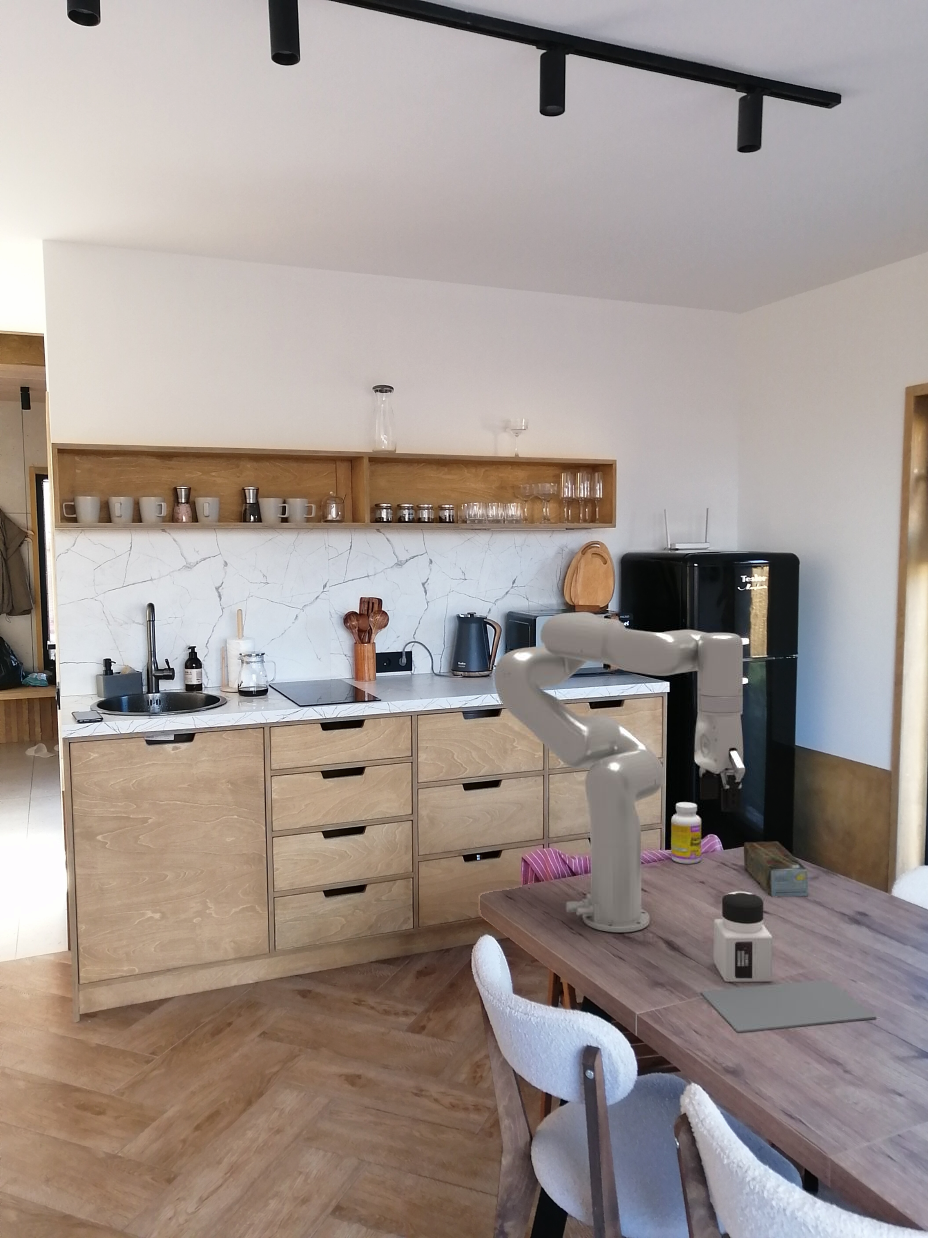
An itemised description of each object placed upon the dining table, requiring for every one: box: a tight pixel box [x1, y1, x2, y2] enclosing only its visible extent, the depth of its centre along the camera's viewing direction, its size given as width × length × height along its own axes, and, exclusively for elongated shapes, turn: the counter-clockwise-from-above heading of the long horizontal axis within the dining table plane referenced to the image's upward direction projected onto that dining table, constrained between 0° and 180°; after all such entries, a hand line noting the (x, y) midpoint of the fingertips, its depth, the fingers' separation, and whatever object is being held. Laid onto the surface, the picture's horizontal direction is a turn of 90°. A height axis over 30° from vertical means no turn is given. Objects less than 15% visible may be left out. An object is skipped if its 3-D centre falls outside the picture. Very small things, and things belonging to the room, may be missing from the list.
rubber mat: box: [700, 979, 877, 1034], centre depth 147 cm, size 22×13×1 cm, turn 100°
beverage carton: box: [743, 840, 809, 897], centre depth 204 cm, size 8×19×7 cm, turn 0°
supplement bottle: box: [670, 801, 702, 865], centre depth 219 cm, size 7×7×13 cm
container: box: [713, 891, 773, 983], centre depth 159 cm, size 8×8×13 cm
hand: (719, 804), depth 167 cm, fingers open, 7 cm apart
